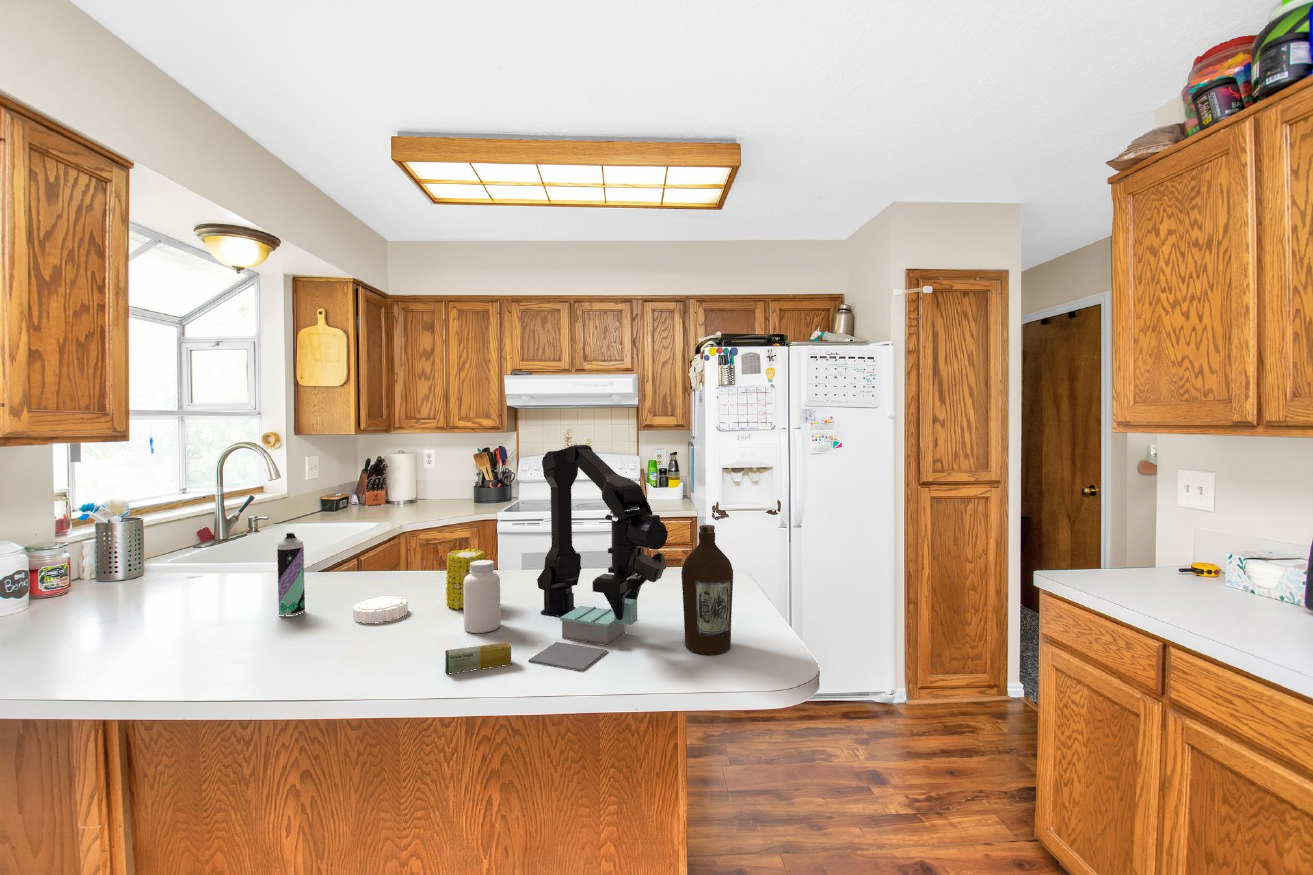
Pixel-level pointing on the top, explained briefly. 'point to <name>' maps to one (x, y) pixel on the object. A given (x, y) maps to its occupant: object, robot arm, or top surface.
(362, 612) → the mooncake
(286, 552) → the spray can
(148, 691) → the top surface
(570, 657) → the mat
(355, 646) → the top surface
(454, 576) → the food
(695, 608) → the olive oil
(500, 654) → the medication box
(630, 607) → the lid
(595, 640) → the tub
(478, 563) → the pill bottle
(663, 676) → the top surface
